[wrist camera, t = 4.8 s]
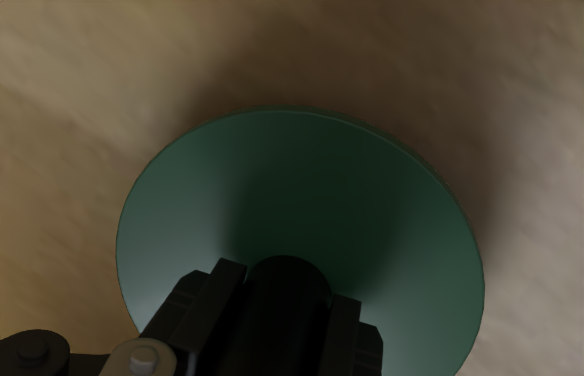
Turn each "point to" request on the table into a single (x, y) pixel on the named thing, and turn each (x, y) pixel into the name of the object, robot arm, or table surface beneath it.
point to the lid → (305, 240)
